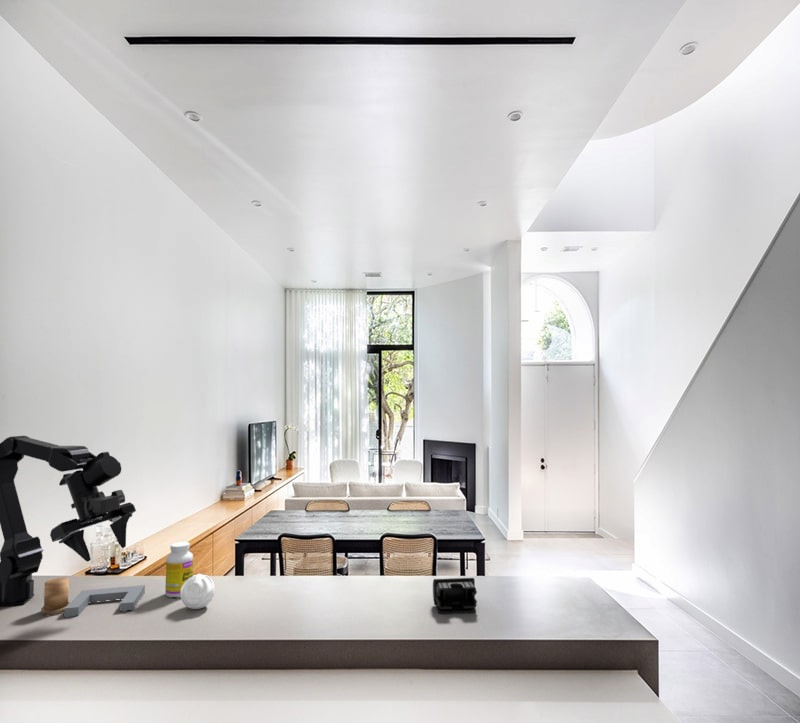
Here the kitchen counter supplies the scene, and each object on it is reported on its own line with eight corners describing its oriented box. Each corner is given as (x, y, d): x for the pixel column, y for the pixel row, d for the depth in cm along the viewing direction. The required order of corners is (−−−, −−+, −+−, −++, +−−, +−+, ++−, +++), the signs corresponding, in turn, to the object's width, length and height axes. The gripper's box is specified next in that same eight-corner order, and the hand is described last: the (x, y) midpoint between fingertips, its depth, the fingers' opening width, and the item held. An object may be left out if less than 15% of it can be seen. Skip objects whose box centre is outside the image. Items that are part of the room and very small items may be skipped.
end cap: (472, 601, 135) (471, 574, 135) (478, 613, 127) (478, 584, 128) (432, 603, 134) (432, 575, 134) (436, 614, 127) (436, 585, 127)
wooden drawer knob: (36, 616, 128) (37, 586, 128) (47, 607, 133) (48, 578, 134) (65, 614, 129) (65, 584, 129) (74, 604, 135) (74, 576, 135)
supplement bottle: (182, 599, 137) (183, 548, 138) (159, 597, 139) (160, 547, 140) (197, 590, 144) (198, 541, 145) (175, 588, 145) (176, 540, 146)
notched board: (64, 617, 127) (64, 608, 127) (81, 598, 139) (82, 590, 139) (133, 610, 131) (133, 602, 131) (144, 592, 142) (144, 585, 142)
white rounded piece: (175, 614, 128) (176, 581, 128) (185, 602, 136) (186, 571, 136) (210, 613, 129) (210, 580, 129) (218, 601, 136) (218, 569, 137)
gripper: (65, 491, 121) (89, 556, 118) (137, 473, 138) (159, 530, 135) (39, 509, 125) (61, 573, 123) (112, 489, 142) (133, 545, 139)
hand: (107, 553), depth 130 cm, fingers open, 9 cm apart
